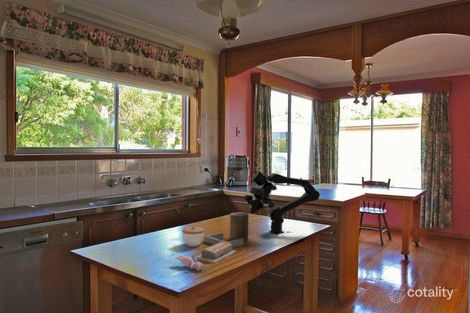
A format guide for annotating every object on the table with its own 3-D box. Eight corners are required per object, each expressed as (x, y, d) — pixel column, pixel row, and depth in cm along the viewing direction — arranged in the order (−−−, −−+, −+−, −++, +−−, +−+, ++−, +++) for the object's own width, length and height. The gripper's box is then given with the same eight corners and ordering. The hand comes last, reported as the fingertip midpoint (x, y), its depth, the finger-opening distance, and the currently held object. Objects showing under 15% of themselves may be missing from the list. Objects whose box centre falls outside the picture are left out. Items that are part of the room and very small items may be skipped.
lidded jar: (194, 240, 177) (195, 222, 177) (208, 244, 170) (208, 226, 169) (177, 244, 170) (177, 225, 170) (190, 249, 162) (191, 229, 162)
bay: (221, 237, 183) (221, 232, 183) (243, 244, 171) (243, 238, 171) (204, 241, 175) (204, 235, 175) (226, 249, 163) (226, 243, 163)
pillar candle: (248, 242, 175) (249, 213, 175) (229, 241, 176) (229, 212, 175) (248, 237, 185) (248, 209, 185) (230, 237, 185) (230, 209, 185)
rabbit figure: (209, 272, 137) (181, 259, 145) (211, 258, 136) (183, 245, 144) (199, 277, 131) (170, 263, 139) (201, 262, 131) (172, 249, 139)
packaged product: (218, 239, 164) (236, 242, 159) (218, 249, 164) (236, 253, 159) (195, 249, 148) (214, 253, 143) (195, 260, 148) (214, 264, 143)
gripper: (246, 180, 196) (232, 201, 189) (271, 183, 183) (256, 206, 175) (255, 193, 202) (242, 214, 195) (280, 196, 188) (266, 219, 181)
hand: (251, 213), depth 186 cm, fingers closed
